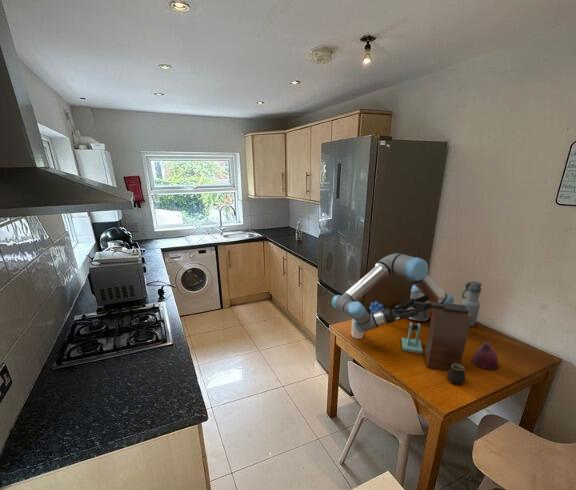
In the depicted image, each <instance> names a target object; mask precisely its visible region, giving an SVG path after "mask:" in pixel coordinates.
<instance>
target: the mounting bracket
mask: <svg viewBox="0 0 576 490" xmlns="http://www.w3.org/2000/svg"><path fill="white" fill-rule="evenodd" d="M412 324H413V321H412V322H411V321H410V322H409V324H408V332H407V337H401V347H402V348H401V349H402V351H403V352H410V353H415V354H423V353H424V352H423V350H424V349H423V346H422V341H421V340H420V339H419V338H420V331H421V329H422V327H421V322H417V324H416V325H417V330H416V331H415V338H411V337H412V331H413V330H412Z"/></svg>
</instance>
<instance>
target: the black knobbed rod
mask: <svg viewBox="0 0 576 490" xmlns="http://www.w3.org/2000/svg"><path fill="white" fill-rule="evenodd" d="M417 325H418V324H414V323H412V331H415V330H416V331H417Z"/></svg>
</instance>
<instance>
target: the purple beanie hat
mask: <svg viewBox="0 0 576 490" xmlns="http://www.w3.org/2000/svg"><path fill="white" fill-rule="evenodd" d="M471 362H472V363H473V364H474V365H475V366H476V367H478V368H481V369H484V370H487V371H488V370H489V371H490V370H491V371H492V370H493V371H494V370H496V369H497V366H498V355H497V353H496V351H495V349H494V348H493V347H492V345H491V343H490V342H488V341H485V342H484V343H483V344H482V345H481V346H479V348H477V350H476V351H475V353H474V354H473V357H472V361H471Z"/></svg>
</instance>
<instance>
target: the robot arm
mask: <svg viewBox="0 0 576 490" xmlns="http://www.w3.org/2000/svg"><path fill="white" fill-rule="evenodd" d="M428 273H429V265H428V263H427V261H426V260H425V259H423V258H420V257H415V256H411V255H407V254H404V253H399V252H398V253H397V252H396V253H392V254H389V255H386V256H385V257H382V258H381V259H380V260H378V261H377V262H376V263H375V264H374V267H373V268H372V269H370V271H369V272H368V273H366V274H365V275H364V276H363V277H361V278H360V279H358V281H357V282H356V283H354V284H353V285H352V286H351V287H350V288H349V289H347V291H345V292H344V293H343V294H342V295H341V294H335V295H334V296H333V298H332V299H331V306H332V307H333V308H334V309H336V311H340V312H341V313H343V314H344V315H347V316H348V317H350V318H352V319H355V321H354V324H355V327H356V329H357V331H358V332H359V333H362V332H364V333H366V332H369V331H372V330H375V329H377V328H380V327H384V326H387V324H388V325H389V324H392V323H395V322H399V321H401V320H404V319H405V320H406V319H407V320H409V321H412V322H417V323H426V322H429V320H430V313H429V310H433V308H432V306H431V304H430V303H438V304H442V303H448V304H454V302H455V298H454V296H453V295H451V294H448V293H446V292H445V290H444V289H442V288H441V287H438V286H437V285H436V283H435V282H434V281H433V279H431V277H430V276H429V275H428ZM392 274H393V275H397V276H399V277H403V278H404V279H405V280H406V281H407V283H409V284H413V285H412V286H411V289H410V296H409V299H407V300H405V301H403V302H401V303H399V304H396V305H394V306H393V308H392V309H391V308H390V307H387V308H385V309H384V310H383V311H378V312H375V313H373V314H371V313H369V312H368V310H367V309H366V308H365V306H364V305H363V303H361V301H359V300H360V299H361V298H362V297H363V296H365V294H367V293H368V292H369V291H370V290H371V289H372V288H373V287H375V286H376V285H377V284H378V283H380V281H381V280H383V279H384V278H387V277H389V276H390V275H392ZM414 301H415V302H424V303H427V304H424V305H421V306H418V307H417V306H414V305H413V304H414Z"/></svg>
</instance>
